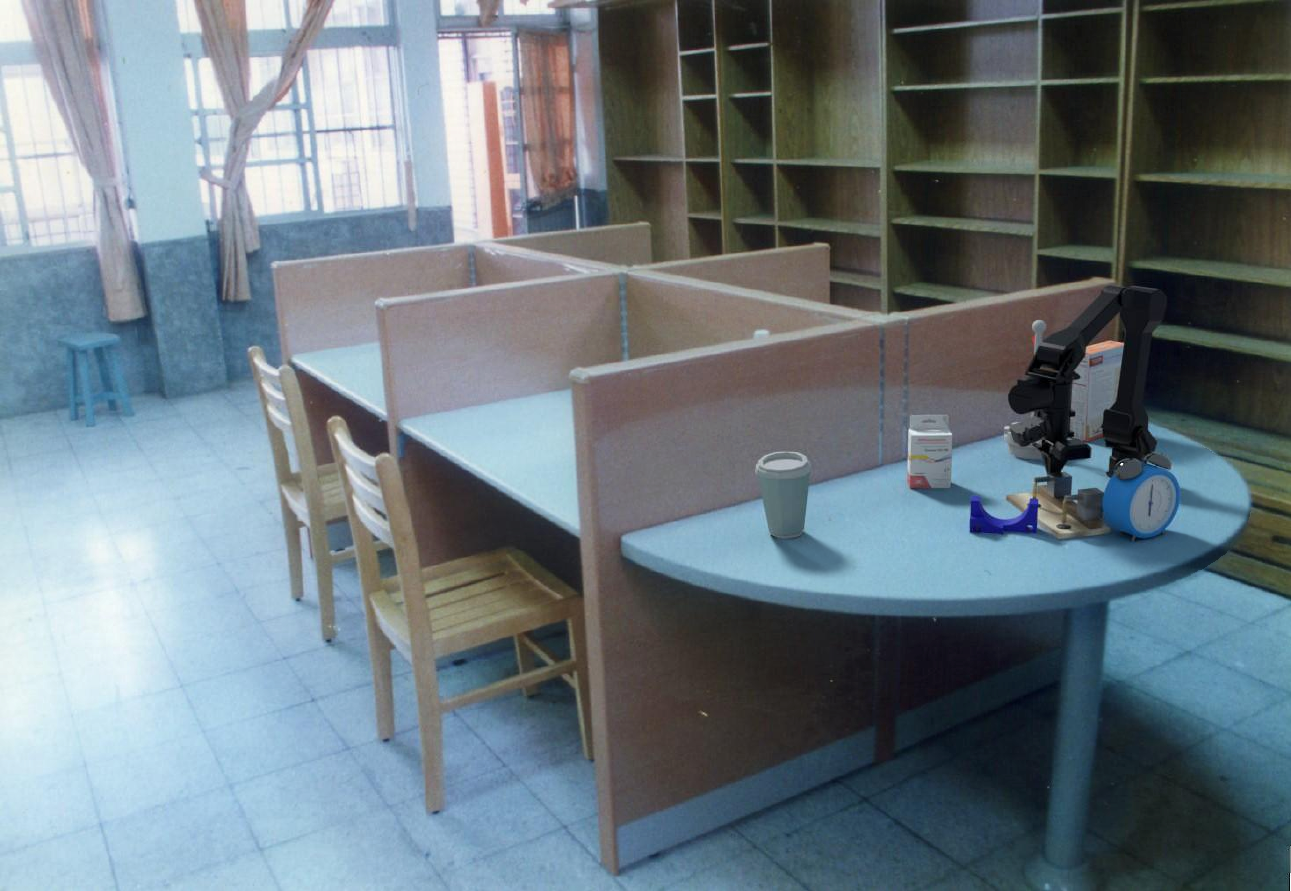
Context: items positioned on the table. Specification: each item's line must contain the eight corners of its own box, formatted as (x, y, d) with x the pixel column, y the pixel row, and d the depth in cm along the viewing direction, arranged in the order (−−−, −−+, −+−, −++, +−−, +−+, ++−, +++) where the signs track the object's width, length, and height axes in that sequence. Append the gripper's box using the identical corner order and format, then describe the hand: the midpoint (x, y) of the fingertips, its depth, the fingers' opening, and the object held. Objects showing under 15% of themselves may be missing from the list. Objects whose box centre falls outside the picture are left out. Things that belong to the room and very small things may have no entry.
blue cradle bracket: (969, 533, 222) (970, 503, 221) (970, 524, 226) (971, 495, 225) (1036, 537, 219) (1038, 507, 217) (1036, 528, 223) (1038, 498, 221)
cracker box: (1103, 425, 282) (1108, 339, 275) (1125, 431, 277) (1131, 343, 270) (1064, 437, 274) (1069, 348, 268) (1086, 443, 270) (1091, 353, 263)
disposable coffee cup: (807, 545, 220) (806, 468, 216) (751, 541, 224) (748, 466, 219) (816, 524, 230) (816, 451, 226) (762, 521, 233) (760, 449, 229)
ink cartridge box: (909, 489, 247) (910, 421, 242) (906, 481, 251) (907, 414, 247) (951, 488, 246) (953, 420, 241) (948, 480, 250) (949, 413, 246)
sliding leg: (1063, 495, 233) (1064, 471, 232) (1070, 500, 230) (1072, 476, 229) (1029, 499, 232) (1030, 475, 231) (1036, 504, 229) (1037, 479, 228)
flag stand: (1072, 459, 259) (1080, 324, 250) (1012, 462, 260) (1018, 327, 251) (1053, 442, 272) (1060, 312, 263) (996, 444, 272) (1001, 315, 263)
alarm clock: (1123, 546, 212) (1129, 466, 208) (1098, 535, 218) (1103, 457, 213) (1178, 532, 217) (1185, 454, 212) (1152, 522, 222) (1158, 445, 218)
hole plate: (1053, 494, 239) (1054, 459, 237) (1109, 533, 218) (1112, 495, 216) (1005, 499, 238) (1007, 464, 235) (1058, 539, 217) (1060, 500, 215)
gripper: (995, 396, 237) (992, 470, 241) (1038, 421, 219) (1034, 500, 224) (1048, 391, 238) (1044, 465, 243) (1095, 415, 220) (1090, 495, 225)
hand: (1051, 481), depth 233 cm, fingers closed
